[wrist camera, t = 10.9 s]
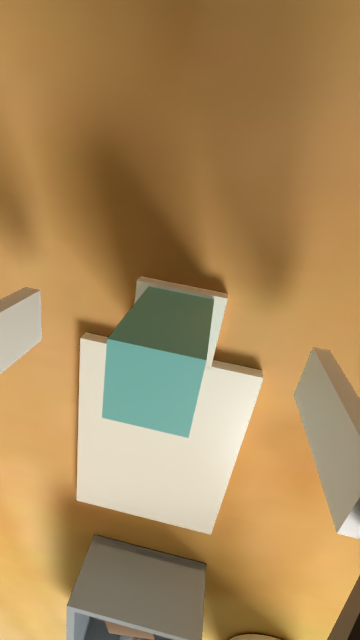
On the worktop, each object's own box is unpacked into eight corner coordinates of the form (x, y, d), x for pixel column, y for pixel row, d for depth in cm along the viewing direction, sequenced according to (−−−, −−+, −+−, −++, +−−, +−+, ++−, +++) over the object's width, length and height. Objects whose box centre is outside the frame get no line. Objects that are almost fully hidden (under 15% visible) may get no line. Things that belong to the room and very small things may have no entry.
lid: (88, 265, 17) (7, 312, 11) (283, 304, 16) (317, 379, 10) (81, 491, 25) (32, 592, 19) (211, 524, 24) (205, 640, 18)
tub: (94, 534, 27) (66, 605, 22) (206, 563, 26) (201, 643, 22) (88, 613, 33) (66, 682, 28) (180, 639, 32) (172, 713, 27)
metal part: (152, 612, 29) (142, 657, 26) (160, 628, 30) (151, 672, 28) (121, 607, 30) (109, 650, 27) (130, 622, 31) (119, 665, 28)
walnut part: (112, 564, 27) (99, 607, 24) (156, 569, 26) (147, 613, 24) (120, 590, 29) (108, 633, 26) (161, 595, 28) (154, 639, 25)
